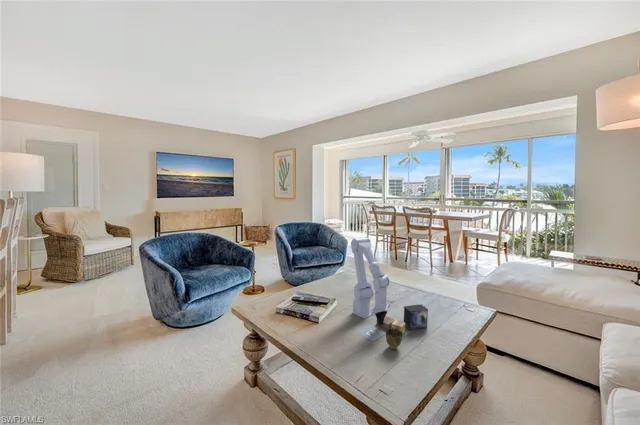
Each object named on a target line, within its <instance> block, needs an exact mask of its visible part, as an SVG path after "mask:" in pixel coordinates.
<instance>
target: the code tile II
mask: <svg viewBox="0 0 640 425" xmlns="http://www.w3.org/2000/svg"><path fill="white" fill-rule="evenodd" d="M409 334H410V332H409V331H406V330H405V333H404V334H403V335H402V339H404V338H405V337H406V336H408V335H409Z"/></svg>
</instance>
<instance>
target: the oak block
mask: <svg viewBox="0 0 640 425" xmlns="http://www.w3.org/2000/svg"><path fill="white" fill-rule="evenodd" d="M394 320H395V321H394V322H393V323H392V327H391V329H392V328H393V329H395V328H396V329H399V330H400V331H402V335H403V334H404V333H405V331H406V327H405V322H404V321H401V320H398V319H394Z"/></svg>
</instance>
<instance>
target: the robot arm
mask: <svg viewBox="0 0 640 425" xmlns="http://www.w3.org/2000/svg"><path fill="white" fill-rule="evenodd" d="M350 248H351V253H352V254H353V258H354V259H353V260H354V265H355V272H356V278H357V283H356V284H355V285H354V286H353V289H354V290H353V291H354V292H353V296H354V298H353V301H352V312H351V314H354V315H355V316H357V317H360V318H362V319H367V318H369V317H371V316H375V317H376V322H377V321H378V324H380V325H382V324H383V322H384V318H385V316H387V314H388V311H389V308H390V307H391V303H390V302H387V296H388V293H387V290H388V287H389V285H390V279H389V277H388V275H386V274H385V273H384V272H383V270H382V267H381V266H380V264H379V263H378V262H377V261H376V259H375V256H374V254H373V251H372V249H371V248H372V242H371V239H370V238H369V237H368V236H366V237H358V238H352V239H351V242H350ZM364 257H365V259H366V261H367V262H368V264H369V265H368V269H369V272H370V274H371V276H372V278H373V280H372V284H373V288H374V289H373V288H372V284H371V283H369V282H368V281H367V280H368V279H367V274H366V268H365V261H364ZM373 297H374V307H373V308H372V309H371V300H372V298H373ZM380 325H379V326H380Z"/></svg>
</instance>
